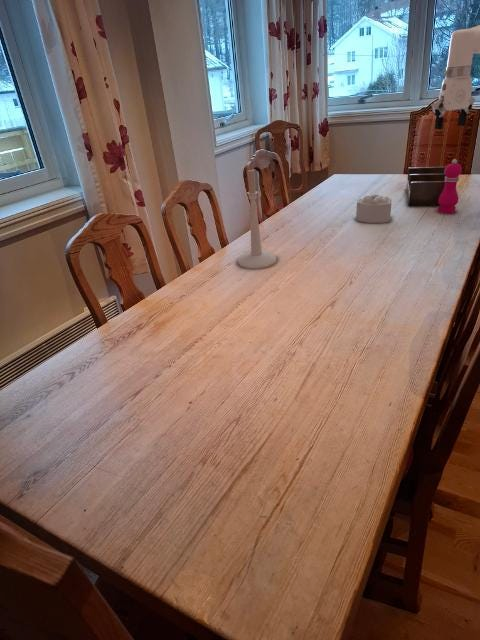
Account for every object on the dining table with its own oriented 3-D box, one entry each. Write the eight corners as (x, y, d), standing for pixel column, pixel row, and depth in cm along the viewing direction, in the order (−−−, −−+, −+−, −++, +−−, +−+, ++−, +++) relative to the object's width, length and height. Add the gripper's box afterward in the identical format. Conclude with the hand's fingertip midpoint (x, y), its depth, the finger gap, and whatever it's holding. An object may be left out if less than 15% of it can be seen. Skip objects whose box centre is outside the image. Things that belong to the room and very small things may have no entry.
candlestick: (271, 251, 151) (266, 162, 135) (280, 265, 140) (276, 170, 125) (235, 256, 149) (226, 167, 134) (241, 271, 138) (233, 175, 123)
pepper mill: (434, 213, 171) (442, 160, 161) (439, 208, 176) (446, 156, 166) (454, 214, 167) (463, 161, 157) (458, 209, 172) (467, 157, 162)
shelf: (442, 188, 200) (446, 166, 195) (449, 206, 177) (453, 181, 172) (406, 189, 204) (408, 167, 199) (408, 206, 181) (411, 182, 176)
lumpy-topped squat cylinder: (389, 223, 165) (391, 200, 161) (355, 222, 169) (356, 200, 165) (389, 214, 174) (391, 193, 170) (356, 214, 178) (357, 193, 173)
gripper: (444, 75, 141) (436, 131, 149) (487, 70, 144) (477, 125, 153) (428, 75, 147) (422, 129, 156) (470, 70, 151) (462, 123, 159)
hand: (449, 127), depth 154 cm, fingers open, 9 cm apart
